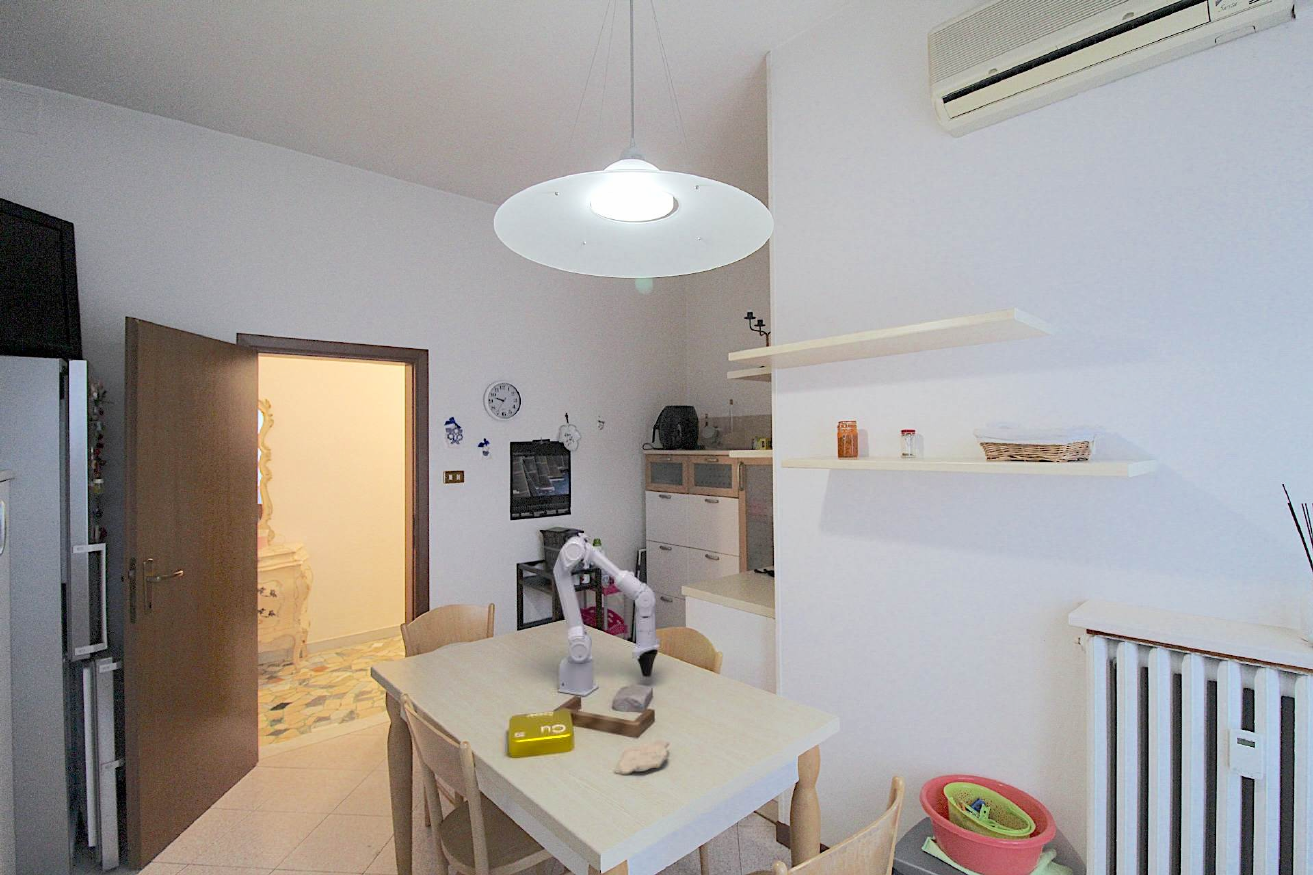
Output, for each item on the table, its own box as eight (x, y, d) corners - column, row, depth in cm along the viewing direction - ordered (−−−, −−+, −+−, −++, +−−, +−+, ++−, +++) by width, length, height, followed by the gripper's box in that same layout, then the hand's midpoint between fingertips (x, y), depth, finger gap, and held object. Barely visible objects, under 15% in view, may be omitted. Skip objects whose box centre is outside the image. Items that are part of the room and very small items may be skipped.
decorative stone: (651, 745, 147) (603, 775, 137) (648, 729, 148) (600, 758, 137) (684, 753, 140) (636, 786, 129) (681, 736, 140) (632, 768, 129)
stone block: (611, 718, 166) (647, 713, 164) (607, 700, 167) (643, 694, 165) (622, 702, 178) (656, 697, 176) (619, 685, 178) (652, 680, 176)
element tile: (570, 725, 159) (569, 706, 159) (574, 753, 144) (574, 732, 144) (509, 732, 156) (509, 713, 156) (508, 761, 141) (508, 739, 141)
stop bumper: (554, 721, 160) (553, 709, 160) (575, 706, 169) (574, 695, 169) (637, 738, 150) (637, 725, 150) (654, 721, 159) (654, 709, 159)
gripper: (647, 637, 175) (648, 686, 174) (668, 624, 188) (669, 669, 187) (624, 635, 178) (626, 682, 177) (647, 621, 191) (648, 666, 190)
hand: (646, 675), depth 182 cm, fingers closed
